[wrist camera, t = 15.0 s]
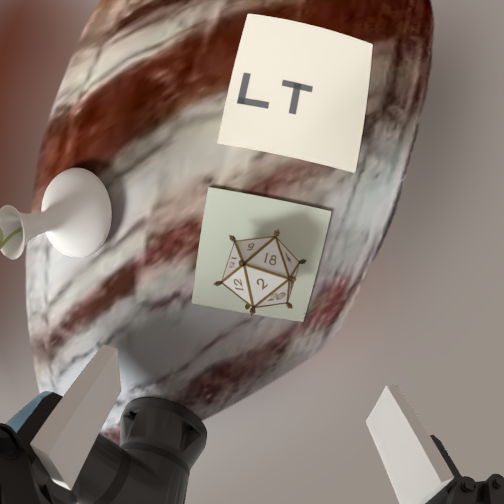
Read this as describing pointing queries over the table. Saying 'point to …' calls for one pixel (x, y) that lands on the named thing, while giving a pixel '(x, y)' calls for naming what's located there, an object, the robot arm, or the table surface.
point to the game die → (261, 271)
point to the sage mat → (256, 226)
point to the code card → (298, 92)
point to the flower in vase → (62, 217)
